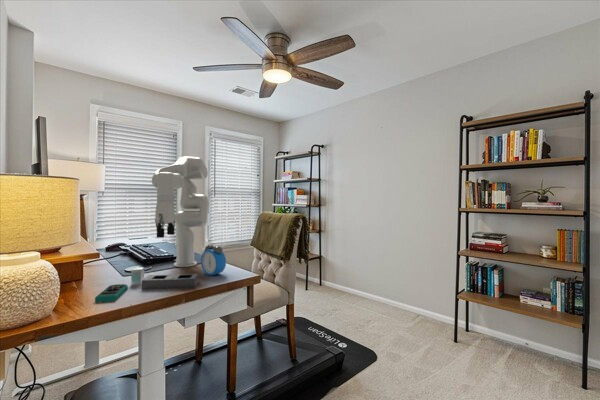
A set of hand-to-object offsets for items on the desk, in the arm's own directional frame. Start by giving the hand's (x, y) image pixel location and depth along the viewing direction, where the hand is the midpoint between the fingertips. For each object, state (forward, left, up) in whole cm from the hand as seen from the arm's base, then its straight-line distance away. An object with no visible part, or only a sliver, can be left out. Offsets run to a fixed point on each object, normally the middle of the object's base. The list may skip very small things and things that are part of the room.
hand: (165, 235), depth 134 cm
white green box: (0, -12, -22) cm, 25 cm away
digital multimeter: (+15, -16, -23) cm, 31 cm away
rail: (+5, +4, -22) cm, 23 cm away
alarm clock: (-12, +20, -22) cm, 32 cm away
